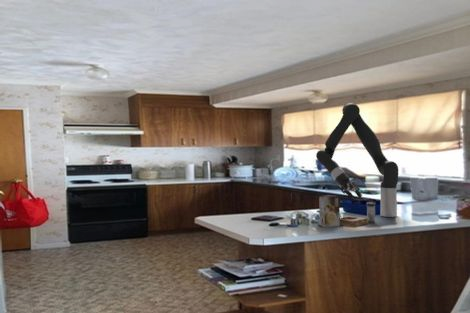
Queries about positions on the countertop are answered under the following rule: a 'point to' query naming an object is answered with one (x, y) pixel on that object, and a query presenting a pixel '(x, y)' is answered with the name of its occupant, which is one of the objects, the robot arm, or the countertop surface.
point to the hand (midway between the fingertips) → (356, 197)
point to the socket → (353, 221)
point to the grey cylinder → (371, 212)
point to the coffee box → (329, 211)
